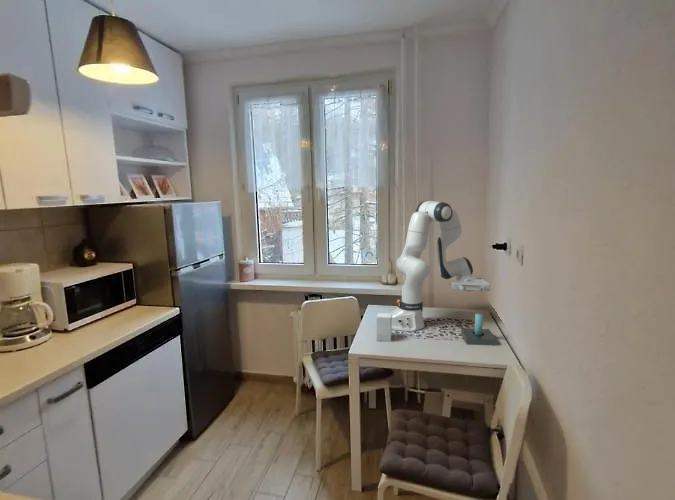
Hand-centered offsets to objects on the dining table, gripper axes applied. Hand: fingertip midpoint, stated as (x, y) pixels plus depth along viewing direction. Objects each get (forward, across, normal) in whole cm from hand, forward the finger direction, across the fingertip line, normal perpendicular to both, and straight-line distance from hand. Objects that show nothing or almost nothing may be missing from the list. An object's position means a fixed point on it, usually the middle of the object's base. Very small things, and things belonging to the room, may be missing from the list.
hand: (473, 289), depth 200 cm
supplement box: (+16, -46, +24) cm, 55 cm away
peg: (+13, +1, +22) cm, 26 cm away
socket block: (+13, +1, +22) cm, 26 cm away
